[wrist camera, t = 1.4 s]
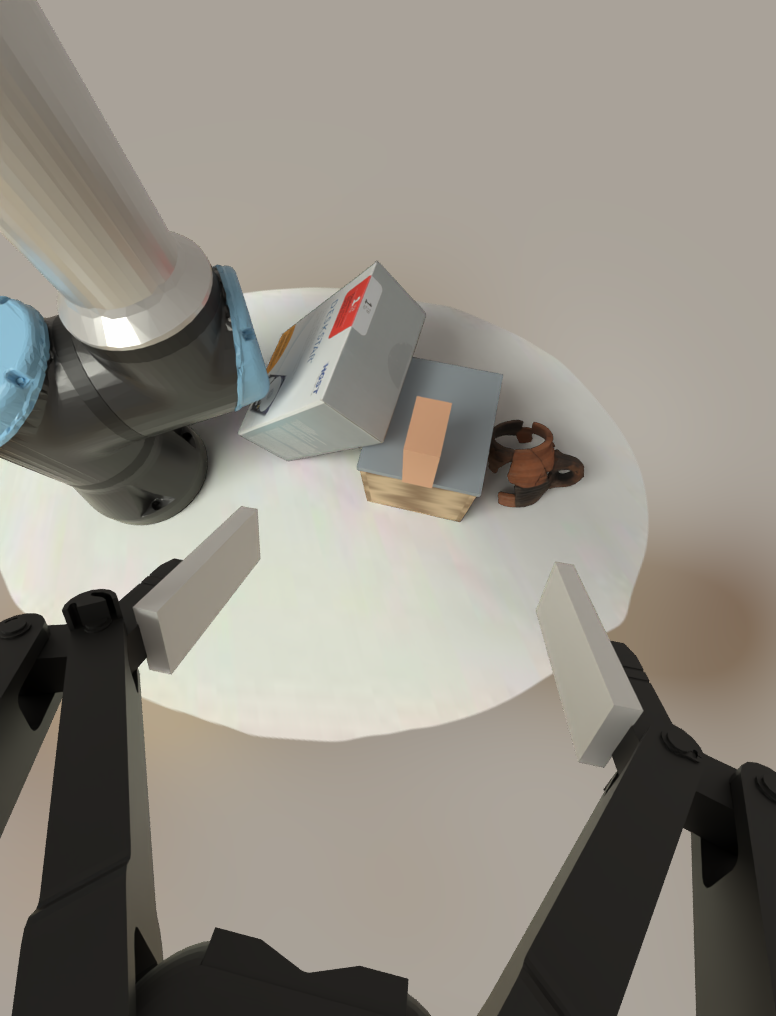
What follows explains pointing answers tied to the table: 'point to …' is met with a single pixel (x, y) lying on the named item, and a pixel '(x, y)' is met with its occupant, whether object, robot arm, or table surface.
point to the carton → (416, 497)
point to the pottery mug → (531, 464)
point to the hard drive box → (338, 371)
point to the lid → (439, 428)
